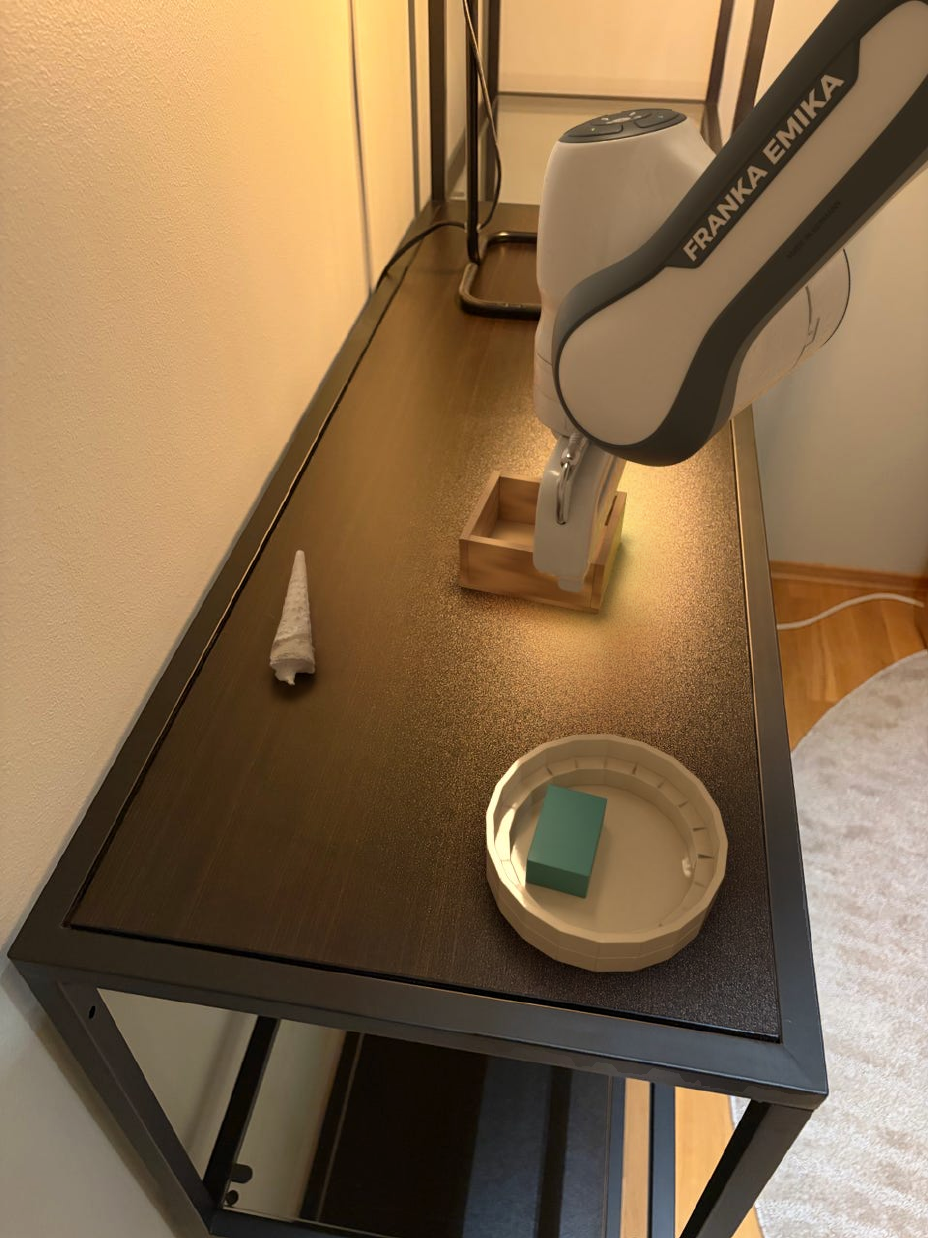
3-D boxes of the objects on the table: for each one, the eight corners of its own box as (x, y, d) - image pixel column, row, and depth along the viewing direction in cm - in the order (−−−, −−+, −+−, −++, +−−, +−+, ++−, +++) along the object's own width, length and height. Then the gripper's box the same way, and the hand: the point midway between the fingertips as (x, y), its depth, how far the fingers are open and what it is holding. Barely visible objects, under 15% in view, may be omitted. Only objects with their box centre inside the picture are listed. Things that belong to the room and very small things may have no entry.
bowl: (724, 801, 61) (737, 763, 58) (699, 1008, 51) (713, 975, 48) (518, 751, 65) (520, 713, 62) (457, 936, 55) (455, 901, 51)
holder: (620, 540, 82) (627, 492, 78) (598, 614, 75) (604, 565, 71) (493, 517, 85) (493, 469, 81) (460, 587, 78) (458, 538, 74)
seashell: (303, 702, 70) (321, 682, 68) (257, 688, 69) (274, 667, 66) (324, 572, 78) (341, 549, 76) (284, 557, 77) (300, 533, 74)
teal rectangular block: (603, 821, 60) (607, 798, 58) (585, 899, 56) (589, 877, 54) (546, 807, 61) (548, 783, 59) (525, 882, 56) (526, 860, 54)
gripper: (614, 478, 50) (597, 646, 60) (670, 325, 64) (649, 481, 73) (509, 461, 52) (509, 628, 61) (586, 315, 66) (576, 469, 75)
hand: (586, 546), depth 67 cm, fingers open, 8 cm apart
